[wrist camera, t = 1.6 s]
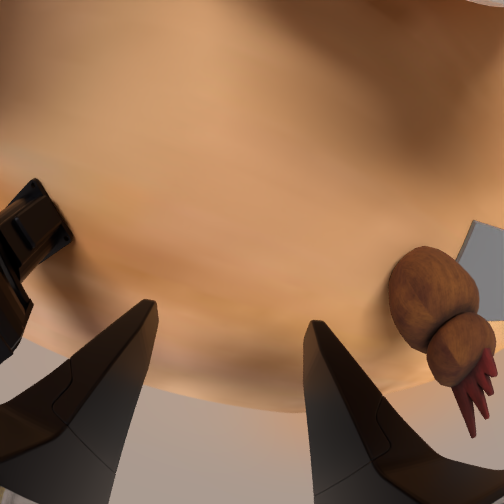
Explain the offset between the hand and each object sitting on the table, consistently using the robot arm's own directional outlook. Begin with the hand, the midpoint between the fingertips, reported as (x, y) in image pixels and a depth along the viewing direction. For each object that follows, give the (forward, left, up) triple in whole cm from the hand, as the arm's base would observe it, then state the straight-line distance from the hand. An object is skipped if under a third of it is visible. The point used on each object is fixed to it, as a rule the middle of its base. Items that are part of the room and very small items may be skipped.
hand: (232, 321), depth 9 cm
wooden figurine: (+10, -11, -12) cm, 20 cm away
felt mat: (+21, -18, -12) cm, 30 cm away
